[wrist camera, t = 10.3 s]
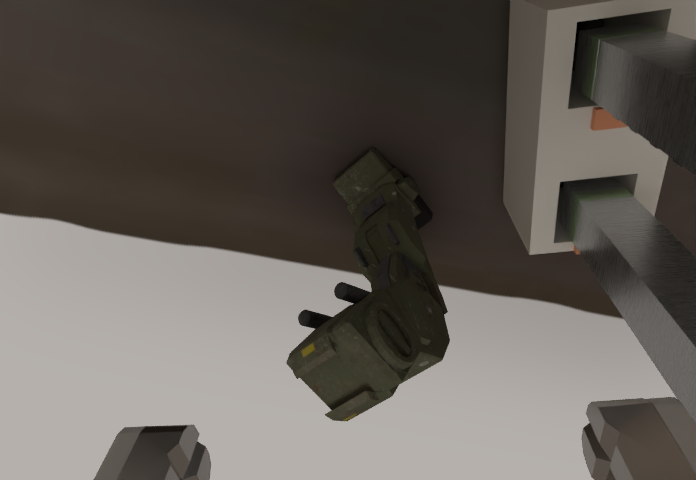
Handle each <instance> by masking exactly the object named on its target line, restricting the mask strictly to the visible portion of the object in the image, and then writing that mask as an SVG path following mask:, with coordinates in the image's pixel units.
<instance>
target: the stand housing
mask: <svg viewBox="0 0 696 480" xmlns="http://www.w3.org/2000/svg"><path fill="white" fill-rule="evenodd" d="M602 18H604V24H603V27H608V26H615V25H622V24H629V23H636V22H638V23H642V24H645V25H648V26H651V27H656V28H659V29H663V30H665V31H668V32H671V33H674V34H677V35H681V36H684V37H687V38H690V39H694V40H696V0H510V21H509V49H508V77H507V105H506V133H505V161H504V189H503V203H504V205H505V207H506V209H507V211H508V213H509V215H510V217H511V219H512V221H513V223H514V225H515V227H516V229H517V231H518V233H519V235H520V237H521V239H522V241H523V243H524V245H525V247H526V249H527V251H528V253H529V255H533V254H543V253H554V252H565V251H574V252H575V254H581V253H580V252H579V250H578V249H577V247H576V246H575V244H573V242H572V241H571V239H570V238H569V236H568V234H567V233H566V231H565V230H564V228H563V227H562V225H561V224H560V213H561V204H562V195H563V188H560V182H564V181H573V180H582V179H583V180H587V179H596V178H605V177H614V178H615V179H616V180H617V181H618V182H619V183H620V184H621V185H622V186H623V187H624V188H626V189H627V190H628V191H629V192H630V193H631V194H632V195H633V196H634V197H635V198H636V199H637V200H638V201H639V202H640V203H641V204H642V205H643V206H644V207H645V208H646V209H647V210H648V211H649V212H650V213H651V214H652V215H653V216H654V215H655V211H656V206H657V202H658V198H659V194H660V189H661V185H662V181H663V177H664V172H665V168H666V164H667V160H668V155H667V154H665V153H664V152H663V151H661V150H660V149H656V148H655V147H653V146H652V145H651V144H650V142H649V141H648V140H646V139H645V138H643V137H642V136H641V135H639V134H638V133H634V132H633V131H632V130H630V127H628V126H627V125H625V124H624V123H623V122H621V121H620V120H617V119H615V118H614V117H612V114H610V113H609V112H608V111H606V110H605V109H603V108H602V107H601V106H599V105H598V104H597V103H595V102H594V101H592V100H590V99H589V98H587V97H586V96H585V95H584V94H583V93H581V92H580V91H579V90H577V89H576V88H574V87H573V82H574V73H575V70H574V71H572V66H573V56H574V47H575V37H576V28H577V22H581V21H588V20H595V19H602Z"/></svg>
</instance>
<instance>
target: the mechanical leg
mask: <svg viewBox="0 0 696 480" xmlns="http://www.w3.org/2000/svg"><path fill="white" fill-rule="evenodd" d="M333 187H334V188H335V189H336V190H337V192H338V193H339V194H340V195H341V196H342V198H343V199H344V200H345V201H346V203H347V204H348V206H347V207H346V208H347V209H348V210H349V211H350V213H351V214H352V215H353V216H354V223H355V225H356V226H357V227H358V230H357V231H356V233H355V241H354V249H353V255H354V257H355V259H356V261H357V263H358V265H359V267H360V269H361V271H362V273H363V275H364V276H365V277H366V278H367V279H368V280H369V281H370V283H371V288H372V292H368V291H365V290H363V289H360V288H357V287H355V286H352V285H349V284H346V283H343V282H341V283H339V284H337V286H336V287H335V291H334V292H335V296H336V297H337V298H339V299H342V300H345V301H348V302H351V303H354V304H353V305H350V306H348V307H347V308H346V309H344V310H343V311H341V312H340V313H339V314H337V315H335V316H334V317H330V316H327V315H323V314H319V313H316V312H312V311H308V310H303V311H302V312H301V313H300V314H299V317H298V320H299V323H300V324H301V325H302V326H306V327H311V328H315V330H314V331H313V332H312V333H311V334H310V335H309V336H308V337H307V338H306V339H305V340H304V341H303V342H301V343H300V344H299V345H298V346H297V347H296V348H295V349H294V350H293V351H292V352H291V353H290V355H289V358H288V360H287V365H288V366H289V367H290V368H291V369H292V370H293V373H294V375H295V376H296V378H297V379H298V378H301V379H302V380H303V381H304V382H305V383H306V384H307V385H308V386H309V387H310V388H311V389H312V390H313V391H314V392H315V393H316V394H317V395H318V396H319V397H320V398H321V399H322V400H323V401H324V402H325V403H326V405H327V406H328V407H329V408H330V409H331V410H332V411H330V412H328V413H327V414H325V415H326V416H327V417H329V418H330V419H332V420H336V421H348V420H350V419H352V418H353V417H355V416H357V415H359V414H361V413H363V412H364V411H366V410H368V409H370V408H372V407H373V406H375V405H377V404H379V403H381V402H382V401H384V400H386V399H388V398H390V397H391V396H392V395H393V394H394V392H395V391H396V389H397V387H398V385H399V384H401V383H403V382H404V381H406V380H408V379H410V378H411V377H413V376H415V375H417V374H419V373H420V372H422V371H424V370H426V369H428V368H429V367H431V366H433V365H435V364H436V363H438V362H440V361H441V360H442V359H443V357H444V355H445V352H446V349H447V347H448V344H449V341H450V339H449V335H448V330H447V326H446V322H445V318H444V314H446V313H447V312H448V311H447V308H446V306H445V303H444V300H443V297H442V294H441V292H440V290H439V287H438V285H437V282H436V280H435V277H434V275H433V272H432V269H431V266H430V264H429V261H428V258H427V255H426V253H425V250H424V247H423V245H422V242H421V239H420V236H419V233H418V229H419V228H421V227H422V226H424V225H425V224H426V223H428V222H429V221H430V220H432V215H433V213H432V212H431V211H430V209H429V208H428V206H427V205H426V204H425V202H424V201H423V200H422V198H421V197H420V196H419V194H418V193H419V191H418V188H417V186H416V183H415V182H414V181H413V180H412V179H411V178H410V177H406V178H403V176H402V174H401V173H400V172H399V171H398V170H397V169H396V167H395V168H393V167H392V166H391V165H390V164H389V163H388V162H387V161H386V160H385V159H384V158H383V157H382V156H381V154H380V153H379V152H378V151H377V150H376V149H375V148H372V149H370V150H369V151H368V153H366V154H365V155H363V156H362V157H361V158H360V159H359V160H357V161H356V162H355V163H354V164H353V165H351V166H350V167H349V168H348V169H347V170H345V171H344V173H343V174H341V175H340V176H338V177H337V178H336V179H335V181H334V183H333Z"/></svg>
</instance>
